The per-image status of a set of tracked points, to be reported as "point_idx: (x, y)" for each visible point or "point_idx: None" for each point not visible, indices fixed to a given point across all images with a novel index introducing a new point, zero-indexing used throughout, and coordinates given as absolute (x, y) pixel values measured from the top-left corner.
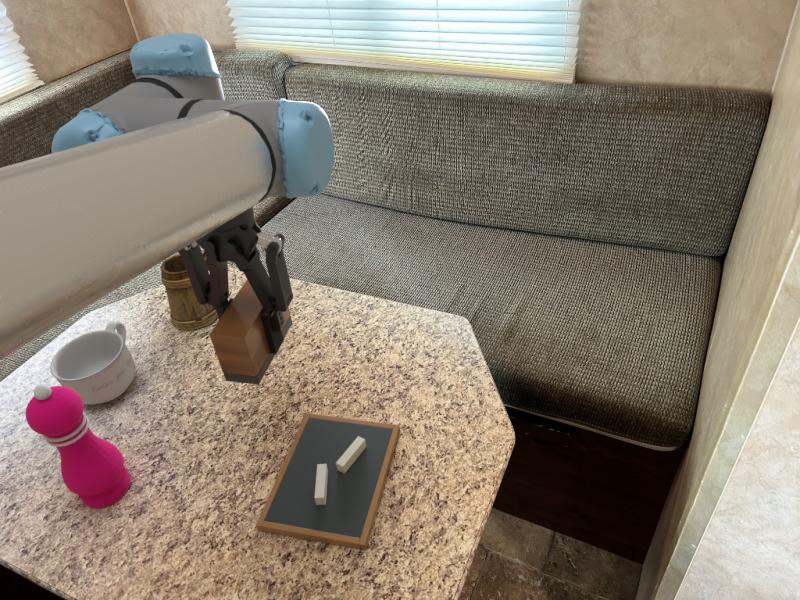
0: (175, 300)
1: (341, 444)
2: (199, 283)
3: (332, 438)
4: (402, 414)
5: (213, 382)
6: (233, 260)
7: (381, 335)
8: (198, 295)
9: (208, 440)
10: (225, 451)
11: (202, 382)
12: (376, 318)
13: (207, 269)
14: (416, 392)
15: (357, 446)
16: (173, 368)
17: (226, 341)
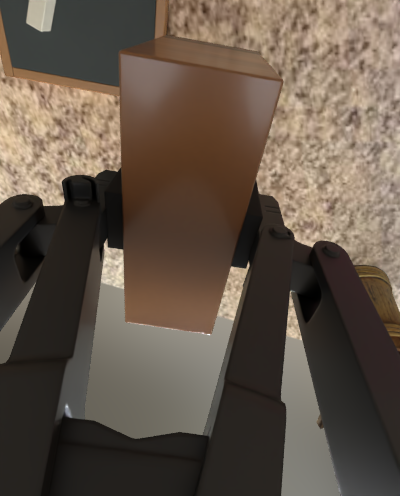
0: (387, 306)
1: (79, 27)
2: (340, 313)
3: (99, 42)
4: (23, 107)
5: (321, 175)
6: (94, 443)
7: (104, 245)
8: (344, 269)
9: (319, 48)
10: (285, 20)
11: (338, 175)
12: (119, 269)
13: (310, 370)
14: (21, 149)
15: (31, 2)
16: (385, 203)
17: (211, 61)
